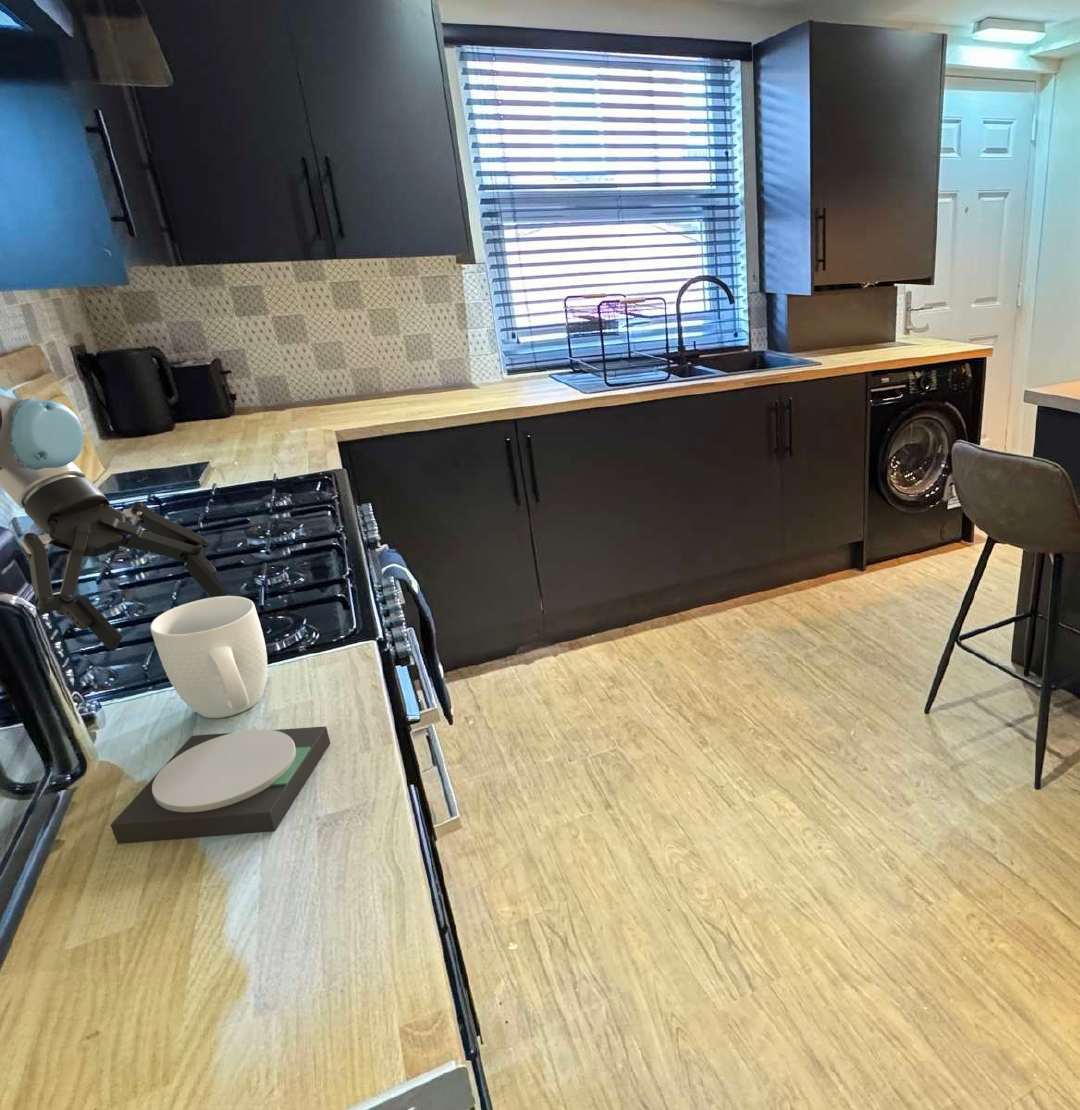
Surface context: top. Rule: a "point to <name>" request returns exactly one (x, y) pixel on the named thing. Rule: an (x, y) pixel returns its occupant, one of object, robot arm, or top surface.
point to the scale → (224, 785)
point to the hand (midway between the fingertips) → (173, 619)
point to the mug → (213, 654)
